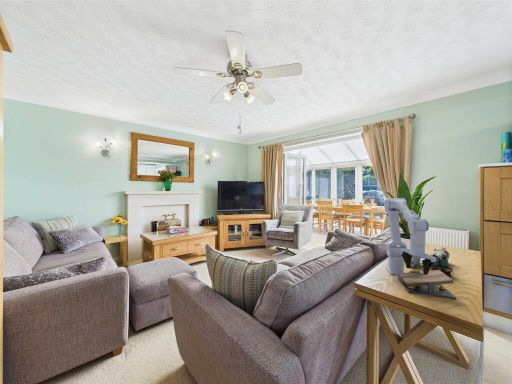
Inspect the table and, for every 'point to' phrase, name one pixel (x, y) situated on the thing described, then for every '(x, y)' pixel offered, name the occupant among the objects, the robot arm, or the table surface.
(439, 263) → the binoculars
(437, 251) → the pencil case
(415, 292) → the leveling stand
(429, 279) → the instrument plate
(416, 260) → the round bodied animal figurine
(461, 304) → the table surface
